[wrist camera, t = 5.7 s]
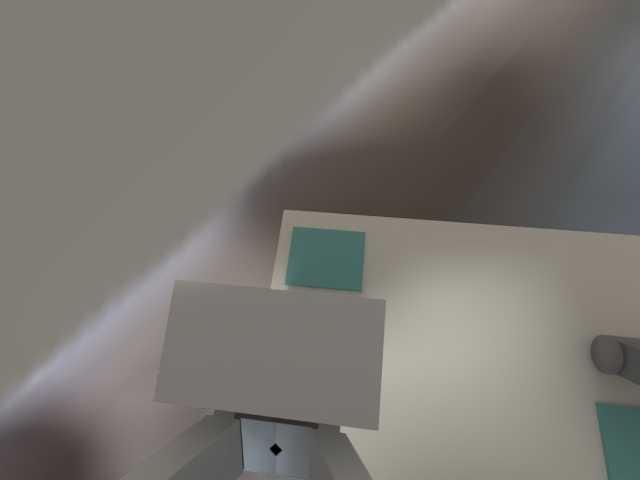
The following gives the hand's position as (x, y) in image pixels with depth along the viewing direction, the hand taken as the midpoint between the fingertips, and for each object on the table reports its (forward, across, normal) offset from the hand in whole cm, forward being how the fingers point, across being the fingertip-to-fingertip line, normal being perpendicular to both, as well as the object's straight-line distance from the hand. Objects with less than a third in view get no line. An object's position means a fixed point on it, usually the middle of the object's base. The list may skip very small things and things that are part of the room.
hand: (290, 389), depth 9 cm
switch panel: (+10, -8, +6) cm, 14 cm away
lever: (+7, 0, +3) cm, 8 cm away
